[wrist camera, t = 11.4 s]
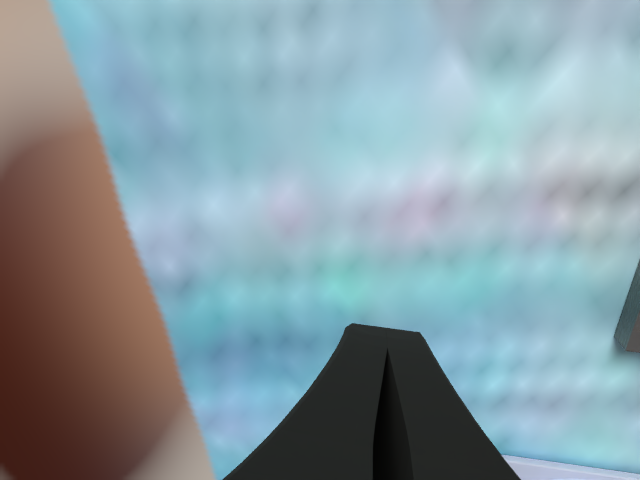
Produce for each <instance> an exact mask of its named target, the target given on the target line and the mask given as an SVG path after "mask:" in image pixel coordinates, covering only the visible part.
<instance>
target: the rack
mask: <svg viewBox="0 0 640 480" xmlns="http://www.w3.org/2000/svg"><path fill="white" fill-rule="evenodd" d="M614 337H615V338H616V339H617V341H618V342H619V343H620V345H621V346H622V347H623V349H624V350H625V351H631V352H639V353H640V261H639V264H638V267H637V270H636V273H635V276H634V279H633V282H632V285H631V288H630V291H629V294H628V297H627V300H626V303H625V306H624V309H623V312H622V315H621V317H620V320H619V323H618V326H617V329H616V332H615V335H614Z"/></svg>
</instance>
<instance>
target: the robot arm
mask: <svg viewBox="0 0 640 480" xmlns="http://www.w3.org/2000/svg"><path fill="white" fill-rule="evenodd" d="M223 480H640V474H635V473H628V472H621V471H614V470H607V469H600V468H593V467H586V466H579V465H572V464H565V463H558V462H551V461H544V460H537V459H530V458H523V457H516V456H509V455H501V454H500V453H499V451H498V450H497V449H496V447H495V446H494V445H493V444H492V442H491V441H490V440H489V438H488V437H487V436H486V434H485V433H484V432H483V430H482V429H481V427H480V426H479V425H478V423H477V422H476V421H475V419H474V418H473V416H472V415H471V413H470V412H469V410H468V409H467V407H466V406H465V404H464V403H463V401H462V400H461V398H460V397H459V396H458V394H457V393H456V391H455V389H454V388H453V386H452V385H451V383H450V382H449V380H448V378H447V377H446V375H445V373H444V372H443V370H442V369H441V367H440V365H439V363H438V362H437V360H436V358H435V357H434V355H433V353H432V351H431V350H430V348H429V346H428V344H427V342H426V340H425V339H424V337H423V336H422V335H421V333H420V332H413V331H406V330H398V329H391V328H383V327H376V326H368V325H361V324H354V323H352V324H350V325H349V326H347V327H346V328H345V330H344V334H343V336H342V338H341V340H340V342H339V344H338V346H337V348H336V349H335V351H334V353H333V354H332V356H331V358H330V359H329V361H328V362H327V364H326V365H325V367H324V368H323V370H322V371H321V372H320V374H319V375H318V377H317V378H316V380H315V381H314V382H313V384H312V385H311V387H310V388H309V389H308V390H307V392H306V393H305V394H304V396H303V397H302V398H301V399H300V400H299V401H298V403H297V404H296V405H295V406H294V407H293V409H292V410H291V411H290V412H289V413H288V415H287V416H286V417H285V418H284V419H283V421H282V422H281V423H280V424H279V425H278V426H277V427H276V428H275V429H274V430H273V431H272V433H271V434H270V435H269V436H268V437H267V438H266V439H265V440H264V441H263V442H262V443H261V444H260V445H259V446H258V447H257V448H256V449H255V450H254V451H253V452H252V453H251V454H250V455H249V456H248V457H247V458H246V459H245V460H244V461H243V462H242V463H241V464H239V465H238V466H237V467H236V468H235V469H234V470H233V471H232V472H231V473H229V474H228V475H227V476H226V477H225V478H224V479H223Z"/></svg>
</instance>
